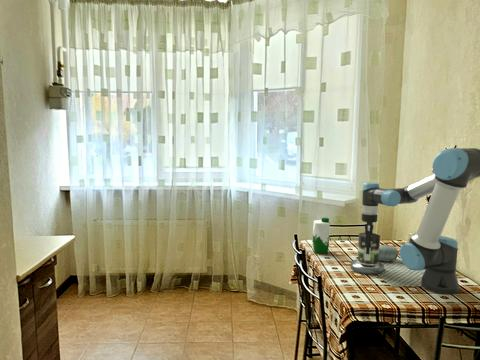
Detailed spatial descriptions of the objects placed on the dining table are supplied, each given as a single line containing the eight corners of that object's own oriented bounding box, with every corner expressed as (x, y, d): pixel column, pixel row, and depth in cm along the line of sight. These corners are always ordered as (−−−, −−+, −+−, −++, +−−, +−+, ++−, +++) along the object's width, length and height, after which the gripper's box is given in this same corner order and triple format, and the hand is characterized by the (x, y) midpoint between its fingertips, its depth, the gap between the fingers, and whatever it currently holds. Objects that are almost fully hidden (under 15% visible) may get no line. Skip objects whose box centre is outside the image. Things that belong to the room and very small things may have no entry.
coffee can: (379, 266, 183) (380, 238, 182) (357, 264, 186) (358, 236, 185) (378, 260, 193) (379, 233, 192) (357, 258, 196) (358, 231, 195)
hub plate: (390, 272, 187) (391, 266, 186) (366, 276, 180) (366, 271, 180) (367, 262, 201) (367, 257, 201) (343, 266, 194) (344, 261, 194)
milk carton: (329, 254, 214) (331, 219, 212) (313, 254, 214) (314, 219, 212) (326, 249, 223) (328, 216, 220) (311, 249, 223) (312, 216, 221)
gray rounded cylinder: (396, 251, 209) (394, 238, 204) (401, 264, 201) (399, 251, 196) (370, 255, 212) (368, 242, 207) (374, 268, 205) (372, 255, 200)
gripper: (362, 208, 199) (360, 249, 201) (360, 217, 178) (358, 262, 180) (377, 210, 196) (375, 251, 199) (377, 218, 175) (375, 264, 178)
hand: (367, 256), depth 190 cm, fingers closed on coffee can, 10 cm apart
